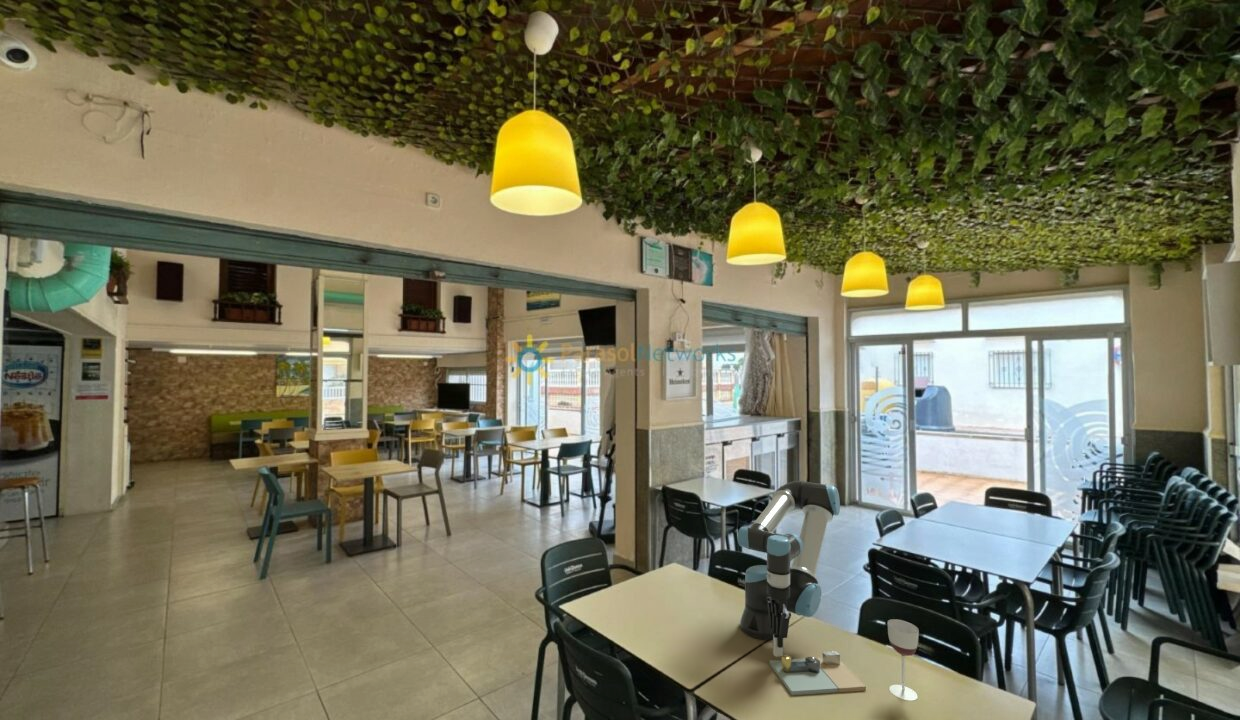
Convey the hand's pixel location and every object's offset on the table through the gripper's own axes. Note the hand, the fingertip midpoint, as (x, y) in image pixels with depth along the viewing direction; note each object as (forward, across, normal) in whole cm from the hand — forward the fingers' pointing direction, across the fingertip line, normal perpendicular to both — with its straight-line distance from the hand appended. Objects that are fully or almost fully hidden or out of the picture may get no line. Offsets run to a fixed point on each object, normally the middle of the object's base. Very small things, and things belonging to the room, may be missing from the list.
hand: (778, 654), depth 164 cm
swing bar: (+2, +6, +5) cm, 8 cm away
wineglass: (+3, +20, +31) cm, 37 cm away
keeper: (+2, +4, +17) cm, 17 cm away
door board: (+3, +8, +9) cm, 12 cm away
